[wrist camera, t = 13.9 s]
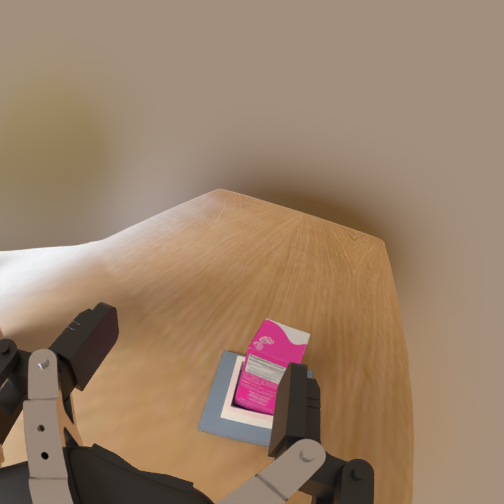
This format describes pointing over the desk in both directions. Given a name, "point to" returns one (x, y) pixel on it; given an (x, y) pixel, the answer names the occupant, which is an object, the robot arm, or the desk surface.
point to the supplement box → (268, 365)
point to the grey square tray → (234, 406)
